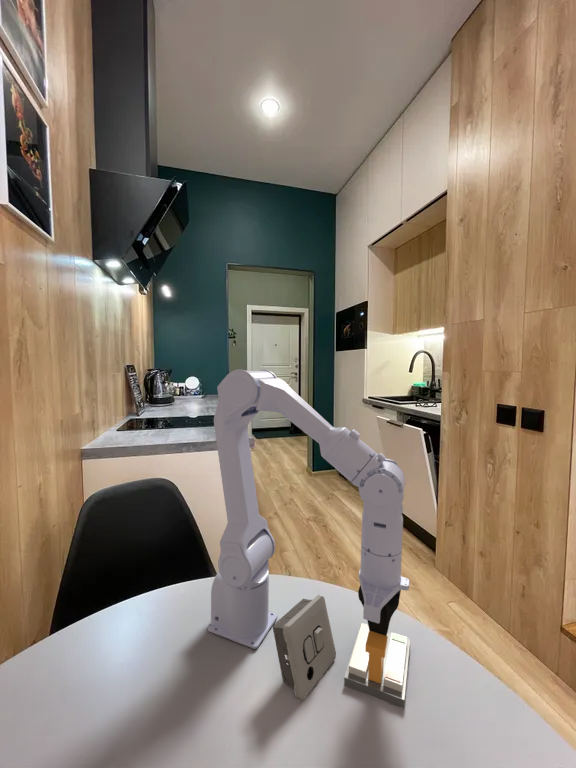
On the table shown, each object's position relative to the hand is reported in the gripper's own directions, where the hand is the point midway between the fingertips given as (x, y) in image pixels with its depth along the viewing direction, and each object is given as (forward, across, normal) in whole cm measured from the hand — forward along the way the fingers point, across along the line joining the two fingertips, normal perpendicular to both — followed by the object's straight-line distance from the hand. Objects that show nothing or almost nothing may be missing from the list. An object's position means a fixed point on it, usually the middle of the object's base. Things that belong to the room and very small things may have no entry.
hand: (378, 635), depth 50 cm
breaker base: (+5, +1, 0) cm, 5 cm away
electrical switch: (+6, -4, +10) cm, 12 cm away
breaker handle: (+4, -2, 0) cm, 5 cm away
